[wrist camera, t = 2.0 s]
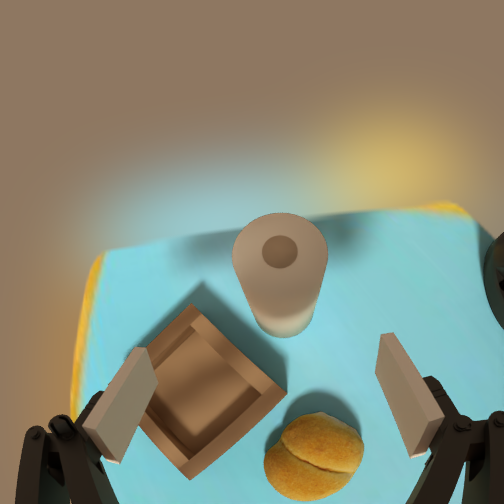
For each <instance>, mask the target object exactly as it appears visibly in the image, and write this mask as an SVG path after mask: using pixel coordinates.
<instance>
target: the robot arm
mask: <svg viewBox="0 0 504 504" xmlns="http://www.w3.org/2000/svg"><path fill="white" fill-rule="evenodd" d="M484 281H485V288H486V293H487V297H488V300H489V303H490V306H491V308H492V311H493V313H494V315H495V317H496V319H497V321H498V322H499V324H500V325H501V327H502V328H503V329H504V232H503V233H502V234H501V235H500V236H499V237H498V238H497V239H496V240H495V241H494V242H493V243H492V244H491V246H490V247H489V249H488V251H487V254H486V257H485V263H484ZM375 374H376V376H377V378H378V381H379V383H380V385H381V388H382V390H383V392H384V395H385V397H386V399H387V402H388V404H389V406H390V409H391V411H392V414H393V416H394V419H395V421H396V424H397V426H398V429H399V431H400V434H401V436H402V439H403V441H404V444H405V446H406V449H407V452H408V454H409V457H410V459H411V458H414V457H417V456H421V455H424V454H425V453H426V451H427V450H428V448H430V450H431V455H430V457H429V458H428V460H427V461H426V463H425V465H426V466H425V468H424V470H423V472H422V474H421V476H420V478H419V480H418V482H417V484H416V486H415V488H414V489H413V491H412V493H411V495H410V497H409V499H408V500H407V502H406V504H448V503H449V501H450V499H451V496H452V494H453V492H454V489H455V487H456V484H457V481H458V479H459V476H460V473H461V471H462V468H463V465H464V462H466V470H465V481H464V490H463V498H462V504H504V411H495V412H493V413H492V414H491V415H490V417H489V418H488V420H480V421H472V420H471V419H470V418H469V417H467V416H465V415H460V414H459V412H458V410H457V409H456V407H455V406H454V404H453V402H452V401H451V399H450V398H449V396H448V395H447V393H446V391H445V390H444V389H443V387H442V385H441V384H440V382H439V381H438V380H437V379H435V378H434V377H433V376H428V377H424V378H422V377H421V375H420V373H419V372H418V370H417V368H416V367H415V365H414V364H413V362H412V361H411V359H410V357H409V356H408V354H407V353H406V351H405V350H404V348H403V346H402V345H401V343H400V342H399V340H398V339H397V337H396V336H395V334H394V333H387V334H381V337H380V344H379V350H378V357H377V363H376V369H375ZM157 385H158V381H157V378H156V375H155V372H154V369H153V367H152V364H151V361H150V358H149V355H148V352H147V349H146V347H134V349H133V350H132V352H131V353H130V355H129V356H128V357H127V359H126V360H125V362H124V363H123V365H122V366H121V368H120V369H119V371H118V372H117V374H116V375H115V376H114V378H113V379H112V381H111V382H110V384H109V385H108V387H107V388H106V390H105V391H99V392H97V393H96V394H95V395H93V396H92V398H91V399H90V401H89V402H88V404H87V405H86V407H85V409H84V410H83V411H82V412H81V414H80V415H79V417H78V418H77V420H76V421H75V423H73V422H72V420H71V419H70V417H69V416H67V415H63V414H62V415H57V416H55V417H53V418H52V419H51V420H50V422H49V425H48V427H49V429H50V430H51V432H52V433H47V432H46V431H45V430H44V428H43V427H41V426H33V427H31V428H29V429H28V431H27V432H26V434H25V439H24V444H23V448H22V454H21V460H20V465H19V472H18V479H17V488H16V498H15V504H70V499H71V503H72V504H119V502H118V500H117V498H116V496H115V493H114V491H113V489H112V487H111V484H110V482H109V479H108V477H107V474H106V472H105V469H104V467H103V464H102V462H101V460H100V457H101V456H102V455H103V456H104V458H105V459H106V460H107V461H109V462H113V463H117V464H120V463H121V461H122V459H123V457H124V455H125V452H126V450H127V448H128V446H129V444H130V442H131V439H132V437H133V435H134V433H135V431H136V429H137V427H138V424H139V422H140V420H141V418H142V416H143V414H144V412H145V410H146V408H147V405H148V403H149V401H150V399H151V397H152V395H153V393H154V391H155V389H156V387H157Z"/></svg>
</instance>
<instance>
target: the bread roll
mask: <svg viewBox="0 0 504 504" xmlns="http://www.w3.org/2000/svg"><path fill="white" fill-rule="evenodd" d="M363 452H364V443H363V441H362V439H361V437H360V436H359V434H358V432H357V431H356V429H354V428H353V427H351V426H349V425H348V424H346V423H344V422H342V421H340V420H338V419H337V418H335V417H333V416H329V415H327V414H326V413H323V412H321V411H320V412H317V413H313V414H306V415H302V416H300V417H298V418H296V419H295V420H294V421H292V422H291V423H290V424H289V425H287V427H286V428H285V429H284V431H283V433H282V435H281V438H280V439H279V441H278V442H277V443H276V444H275V445H274V446H272V447H271V448H270V449H269V450H268V451H267V453H266V454H265V457H264V470H265V474H266V477H267V479H268V481H269V482H270V484H271V485H272V486H273V487H274V489H275V490H276V491H278V492H279V493H280V494H282V495H283V496H285V497H287V498H290V499H292V500H297V501H313V500H318V499H322V498H325V497H327V496H329V495H331V494H333V493H335V492H337V491H339V490H340V489H342V488H343V487H344V486H345V485H346V484H347V483H348V482H349V481H350V479H351V478H352V476H353V475H354V473H355V471H356V470H357V468H358V467H359V465H360V463H361V461H362V457H363Z"/></svg>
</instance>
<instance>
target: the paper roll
mask: <svg viewBox="0 0 504 504" xmlns="http://www.w3.org/2000/svg"><path fill="white" fill-rule="evenodd" d="M327 261H328V249H327V244H326V241H325V239H324V237H323V235H322V233H321V232H320V231H319V229H318V228H317V227H316V226H315V225H314V224H312V223H311V222H310V221H308V220H306V219H305V218H302V217H300V216H297V215H294V214H289V213H273V214H268V215H264V216H262V217H259V218H257V219H255V220H253V221H252V222H250V223H249V224H248V225H247V226H245V228H244V229H243V230H242V231H241V232H240V233H239V235H238V237H237V238H236V240H235V243H234V246H233V250H232V262H233V267H234V270H235V272H236V275H237V277H238V279H239V282H240V284H241V287H242V289H243V292H244V294H245V296H246V299H247V301H248V303H249V306H250V308H251V311H252V313H253V315H254V318H255V320H256V322H257V324H258V326H259V327H260V328H261V329H262V330H263V331H264V332H265V333H267V334H269V335H271V336H273V337H277V338H289V337H293V336H296V335H298V334H299V333H301V332H302V331H304V330H305V329H306V328H307V326H308V325H309V323H310V322H311V319H312V317H313V313H314V310H315V306H316V303H317V299H318V295H319V292H320V288H321V284H322V281H323V277H324V273H325V269H326V265H327Z"/></svg>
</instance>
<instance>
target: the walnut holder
mask: <svg viewBox="0 0 504 504" xmlns="http://www.w3.org/2000/svg"><path fill="white" fill-rule="evenodd" d="M146 349H147V352H148V355H149V358H150V361H151V364H152V367H153V369H154V372H155V375H156V378H157V381H158V385H157V387H156V389H155V391H154V393H153V395H152V397H151V399H150V401H149V403H148V405H147V408H146V410H145V412H144V414H143V416H142V418H141V420H140V422H139V424H138V425H139V426H140V428H141V429H142V430H143V431H144V432H145V434H146V435H147V436H148V437H149V438H150V439H151V441H152V442H153V443H154V444H155V445H156V446H157V447H158V448H159V450H160V451H161V452H162V453H163V454H164V455H165V456H166V457H167V458H168V459H169V460H170V461H171V462H172V464H173V465H174V466H175V467H176V468H177V469H178V470H179V471H180V472H181V473H182V474H183V475H184V476H185V477H186V478H188V479H189V480H191V479H193V478H194V477H195V476H196V475H198V474H199V473H200V472H202V471H203V470H204V469H205V468H207V467H208V466H209V465H210V464H212V463H213V462H214V461H215V460H216V459H218V458H219V457H220V456H221V455H222V454H224V453H225V452H226V451H227V450H228V449H230V448H231V447H232V446H233V445H234V444H235V443H236V442H238V441H239V440H240V439H241V438H242V437H243V436H244V435H245V434H246V433H248V432H249V431H250V430H251V429H252V428H253V427H254V426H255V425H256V424H257V423H258V422H259V421H260V420H261V419H262V418H264V417H265V416H266V415H267V414H268V413H269V412H270V411H271V410H272V409H273V408H274V407H275V406H276V405H277V404H278V403H279V402H280V401H281V400H282V399H283V398H284V397H285V396H286V395H287V393H286V392H285V391H284V390H283V389H282V388H280V387H279V386H278V385H277V384H276V383H275V382H274V381H273V380H271V379H270V378H269V377H268V376H267V375H266V374H265V373H264V372H262V371H261V370H260V369H259V368H258V367H257V366H256V365H255V364H254V363H253V362H251V361H250V360H249V359H248V358H247V357H246V356H245V355H244V354H243V353H242V352H241V351H240V350H239V349H237V348H236V347H235V346H234V345H233V344H232V343H231V342H230V341H229V340H228V339H227V338H226V337H225V336H224V335H223V334H222V333H221V332H220V331H219V330H218V329H217V328H216V327H215V326H214V325H213V324H212V323H211V322H210V321H209V320H208V319H207V318H206V317H205V316H204V315H203V314H202V313H201V312H200V311H199V310H198V309H197V308H196V307H195V306H194V305H193V304H192V303H191V304H190V305H189V306H188V307H187V308H186V309H185V310H184V311H183V312H181V313H180V314H179V315H178V316H177V317H176V318H175V319H174V320H173V321H172V322H171V323H170V324H169V325H168V326H167V327H166V328H165V329H164V330H163V331H162V332H161V333H160V334H159V335H158V336H157V337H156V338H155V339H154V340H153V341H152V342H151V343H150V344H149V345H148V346H147V347H146ZM109 384H110V383H109ZM109 384H108V385H109Z"/></svg>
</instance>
